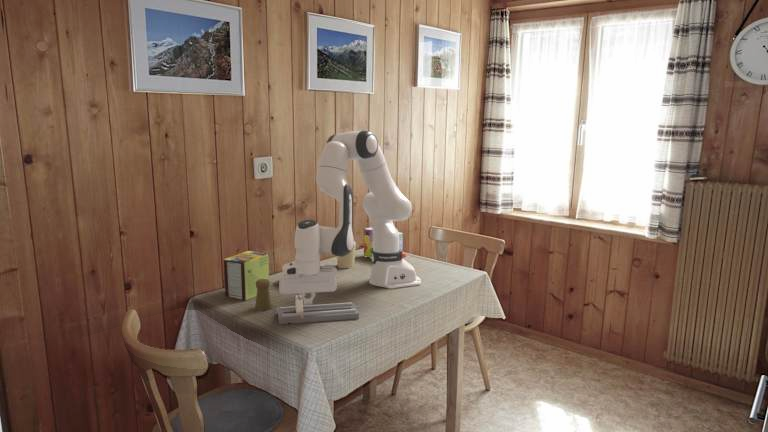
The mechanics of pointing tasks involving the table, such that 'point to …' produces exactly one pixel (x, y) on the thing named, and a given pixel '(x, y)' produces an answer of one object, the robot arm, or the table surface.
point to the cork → (263, 295)
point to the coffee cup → (347, 259)
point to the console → (318, 313)
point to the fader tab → (299, 304)
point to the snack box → (369, 241)
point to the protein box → (245, 274)
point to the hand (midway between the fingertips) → (308, 304)
